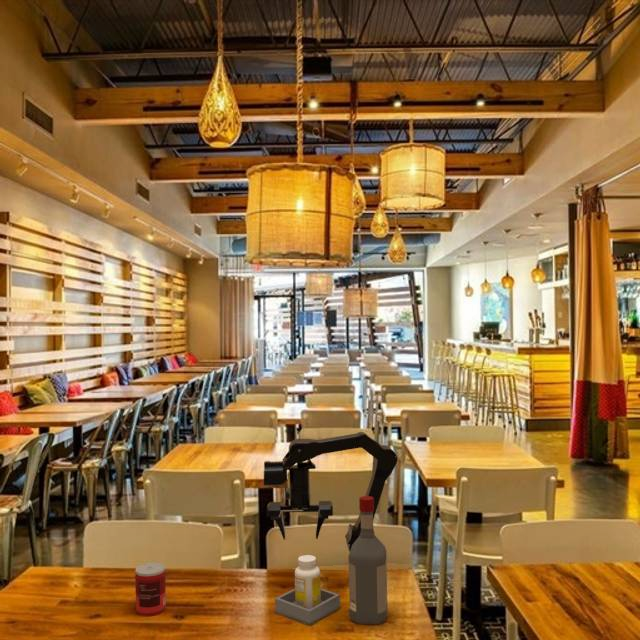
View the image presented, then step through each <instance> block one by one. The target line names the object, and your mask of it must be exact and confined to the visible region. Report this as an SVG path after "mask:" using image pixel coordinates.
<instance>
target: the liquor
mask: <svg viewBox="0 0 640 640" xmlns="http://www.w3.org/2000/svg"><path fill="white" fill-rule="evenodd" d="M358 505H359V507H358V509H359V511H361V533H360V536H359V537H358V538H357V540H356V541H355V542H354V543H353V545H352V547H351V550H350V552H349V554H348V590H349V591H348V598H349V599H348V600H349V617H350V620H351V621H353V622H354V623H356V624H358V623H359V625H372V624H373V625H377V626H378V625H381V624H383V623H385V622H386V620H387V617H388V610H389V609H388V606H389V605H388V574H387V573H388V571H387V569H388V567H387V566H388V565H387V560H388V559H387V558H388V557H387V548H386V545H384V544H383V542H382V541H381V540H380V539H379V538H378V537H377V536H376V535H375V530H374V519H373V511H374V498H373V497H371V496H365V495H363V496H360V497H359V504H358ZM360 623H362V624H360Z"/></svg>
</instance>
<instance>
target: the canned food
mask: <svg viewBox="0 0 640 640" xmlns="http://www.w3.org/2000/svg"><path fill="white" fill-rule="evenodd" d="M134 576H135V577H134V580H135V581H134V582H135V610H136V612H137V614H138V615H139V616H142V615H143V616H144V617H151V615H153V616H157V615H159V614H161V613H162V612H164V611H165V610H166V606H167V605H166V604H167V598H166V597H167V593H166V592H167V591H166V588H167V585H166V584H167V583H166V566H165V564H164V563H161V562H146V563H144V564H140V565H139V566H136V568H135V572H134ZM156 614H157V615H156Z"/></svg>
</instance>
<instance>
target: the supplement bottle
mask: <svg viewBox="0 0 640 640" xmlns="http://www.w3.org/2000/svg"><path fill="white" fill-rule="evenodd" d="M297 564H298V566H297V567H296V568H295V571H294V589H295V601H296V605H299V606H302V607H304V608H307V609H311V608H313V607H315V606H316V605H318V604H320V603H321V589H322V587H321V570H320V568H319V567H318V566H317V565H316V564H317V557H316V556H314V555H312V554H305V555H300V556H299V557H298V559H297Z"/></svg>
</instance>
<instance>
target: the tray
mask: <svg viewBox="0 0 640 640" xmlns="http://www.w3.org/2000/svg"><path fill="white" fill-rule="evenodd" d="M339 608H340V609H341V594H339V593H335V592H333V591H329V590H326V589H324V588H321V603H320V604H318V605H316V606H315V607H313V608H311V609H307V608H304V607H302V606H299V605H296V601H295V588H293V589H291V590H288V591H287V592H285V593H282V594H281V595H279V596H277V597H275V598H274V613H277V614H279V615H282V616H284V617H287V618H289V619H292V620H295V621H297V622H300V623H303V624H304V623H305V625H308V626H312V625H314V624H315V623H317V622H318V620H319V621H321V620H323V619H324V618H326V617H328V616H329V615H331V614H333V613H334V612H336V611H338V610H339ZM337 609H338V610H337ZM335 610H336V611H335ZM332 612H333V613H332ZM330 613H331V614H330ZM325 616H326V617H325ZM323 617H324V618H323ZM320 619H321V620H320ZM313 623H314V624H313Z"/></svg>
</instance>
